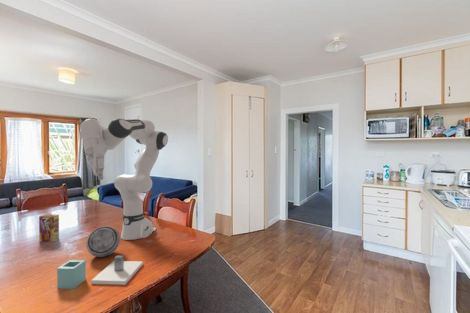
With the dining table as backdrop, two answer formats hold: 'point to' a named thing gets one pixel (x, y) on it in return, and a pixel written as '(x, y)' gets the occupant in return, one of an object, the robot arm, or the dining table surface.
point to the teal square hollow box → (71, 274)
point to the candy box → (48, 228)
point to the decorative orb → (103, 241)
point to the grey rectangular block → (118, 263)
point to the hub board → (117, 273)
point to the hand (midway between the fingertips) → (101, 174)
